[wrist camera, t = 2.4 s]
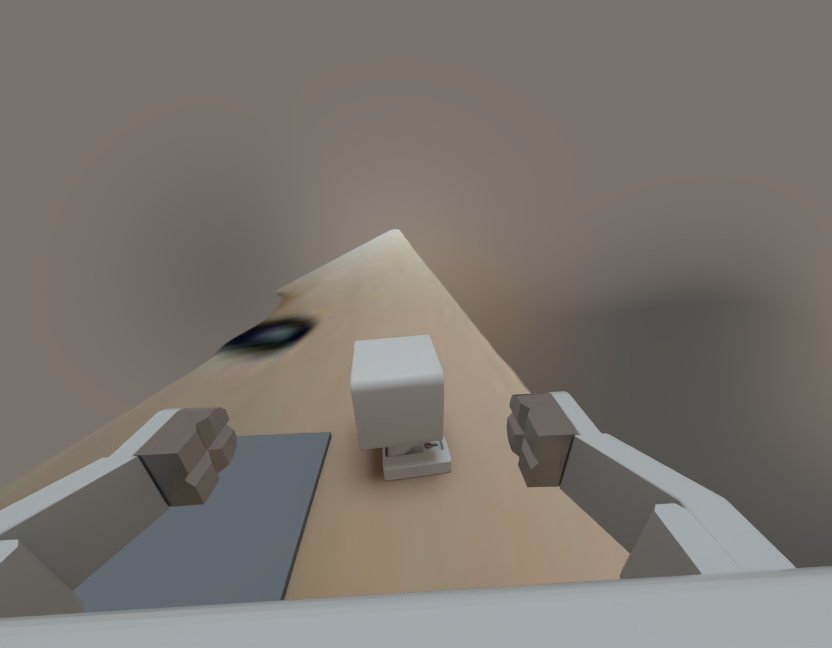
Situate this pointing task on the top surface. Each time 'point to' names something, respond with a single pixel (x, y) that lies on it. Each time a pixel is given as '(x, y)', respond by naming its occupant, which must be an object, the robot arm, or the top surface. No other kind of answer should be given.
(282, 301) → the top surface
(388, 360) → the security camera
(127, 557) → the desk pad
